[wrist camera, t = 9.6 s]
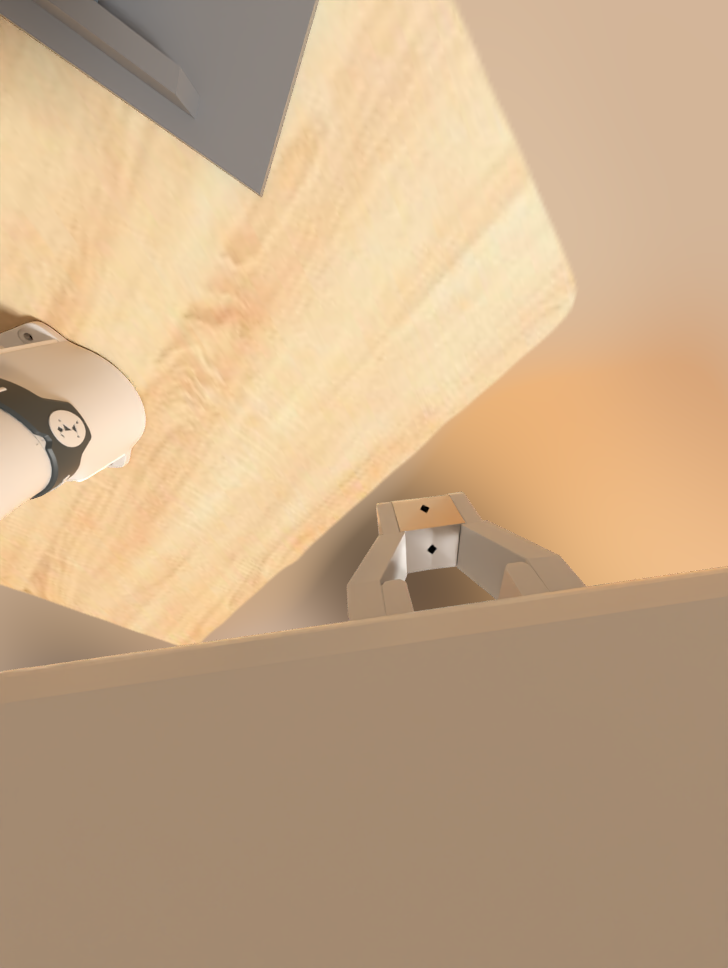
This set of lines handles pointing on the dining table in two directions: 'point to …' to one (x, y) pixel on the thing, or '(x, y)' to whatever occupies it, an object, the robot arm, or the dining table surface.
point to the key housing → (187, 66)
